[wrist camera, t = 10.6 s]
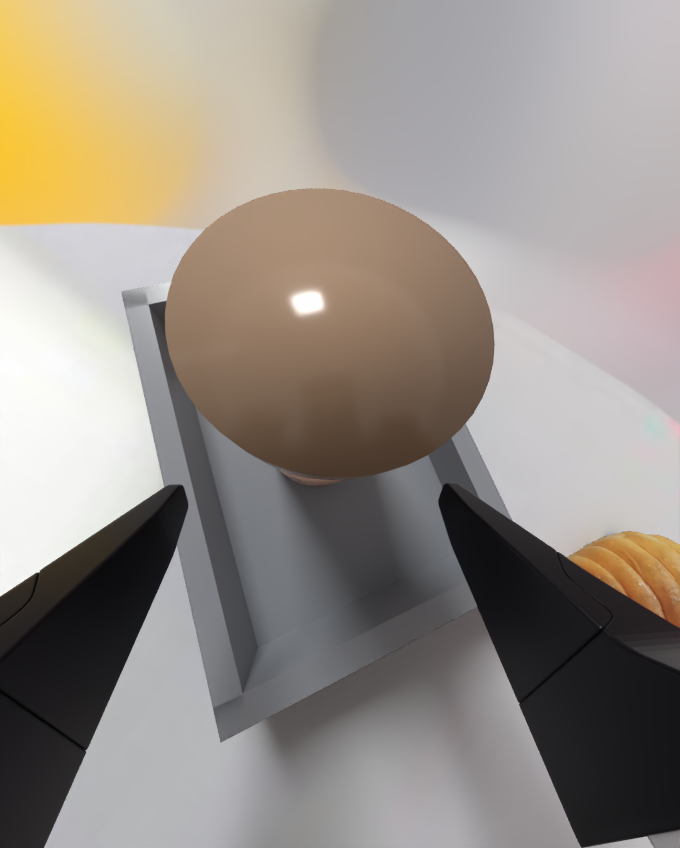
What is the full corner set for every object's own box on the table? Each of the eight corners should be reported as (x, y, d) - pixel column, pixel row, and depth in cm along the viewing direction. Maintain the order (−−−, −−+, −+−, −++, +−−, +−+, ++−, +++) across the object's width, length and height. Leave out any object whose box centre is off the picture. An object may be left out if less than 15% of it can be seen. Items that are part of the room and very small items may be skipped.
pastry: (562, 660, 17) (631, 704, 13) (527, 547, 19) (580, 559, 15) (678, 625, 19) (769, 656, 15) (636, 523, 20) (708, 529, 17)
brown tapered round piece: (357, 498, 17) (494, 505, 5) (256, 481, 17) (106, 439, 4) (369, 404, 19) (494, 227, 6) (279, 387, 18) (221, 158, 6)
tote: (483, 555, 18) (538, 574, 14) (246, 671, 15) (220, 742, 11) (364, 289, 22) (377, 241, 18) (163, 336, 19) (121, 291, 15)
